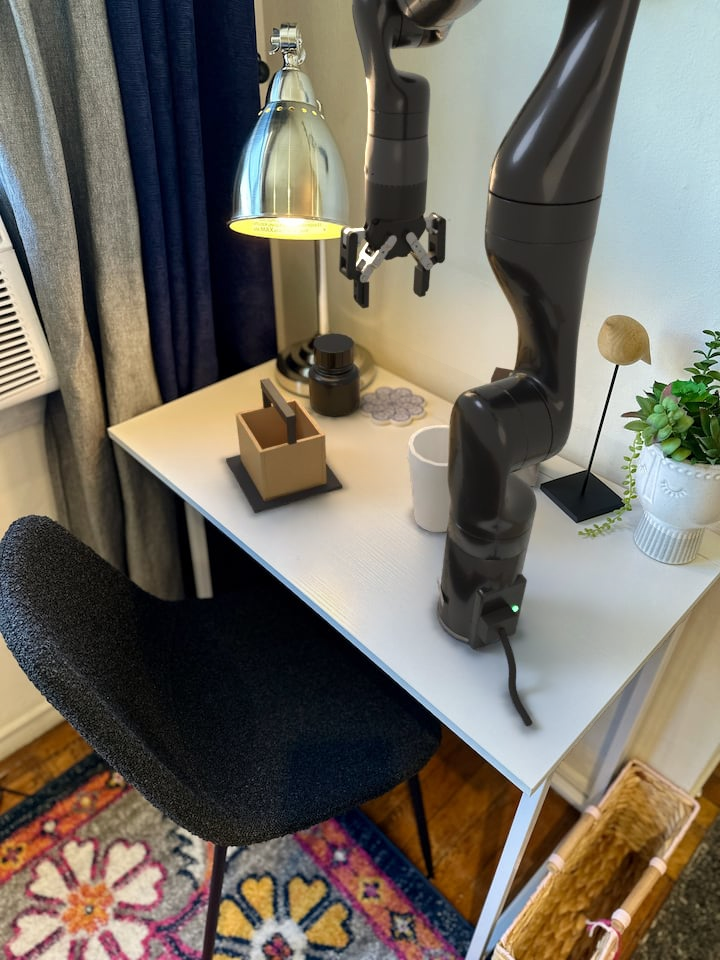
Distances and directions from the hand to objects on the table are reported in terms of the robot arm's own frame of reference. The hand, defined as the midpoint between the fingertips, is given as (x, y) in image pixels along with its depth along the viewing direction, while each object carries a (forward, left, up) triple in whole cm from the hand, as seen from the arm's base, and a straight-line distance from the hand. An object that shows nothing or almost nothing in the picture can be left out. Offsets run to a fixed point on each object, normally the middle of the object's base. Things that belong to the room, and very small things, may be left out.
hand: (391, 300), depth 96 cm
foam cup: (-14, -1, -28) cm, 32 cm away
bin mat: (+5, +15, -28) cm, 32 cm away
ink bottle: (+20, 0, -28) cm, 35 cm away
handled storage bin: (+5, +15, -28) cm, 32 cm away
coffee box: (-9, -17, -28) cm, 34 cm away
